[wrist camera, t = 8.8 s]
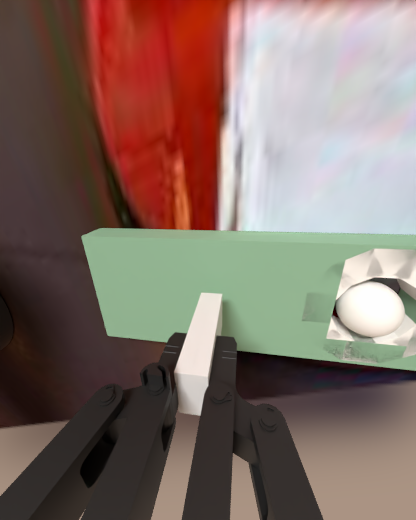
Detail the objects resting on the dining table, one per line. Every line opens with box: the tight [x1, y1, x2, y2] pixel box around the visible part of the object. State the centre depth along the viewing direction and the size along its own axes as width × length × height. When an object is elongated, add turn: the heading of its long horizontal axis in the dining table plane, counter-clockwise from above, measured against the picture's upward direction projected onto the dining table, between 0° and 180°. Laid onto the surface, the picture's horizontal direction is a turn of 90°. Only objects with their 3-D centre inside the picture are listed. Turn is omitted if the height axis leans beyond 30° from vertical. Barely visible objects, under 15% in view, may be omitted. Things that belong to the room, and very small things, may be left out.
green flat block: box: [81, 228, 416, 371], centre depth 17 cm, size 28×10×4 cm, turn 91°
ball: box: [336, 280, 405, 337], centre depth 16 cm, size 4×4×4 cm
